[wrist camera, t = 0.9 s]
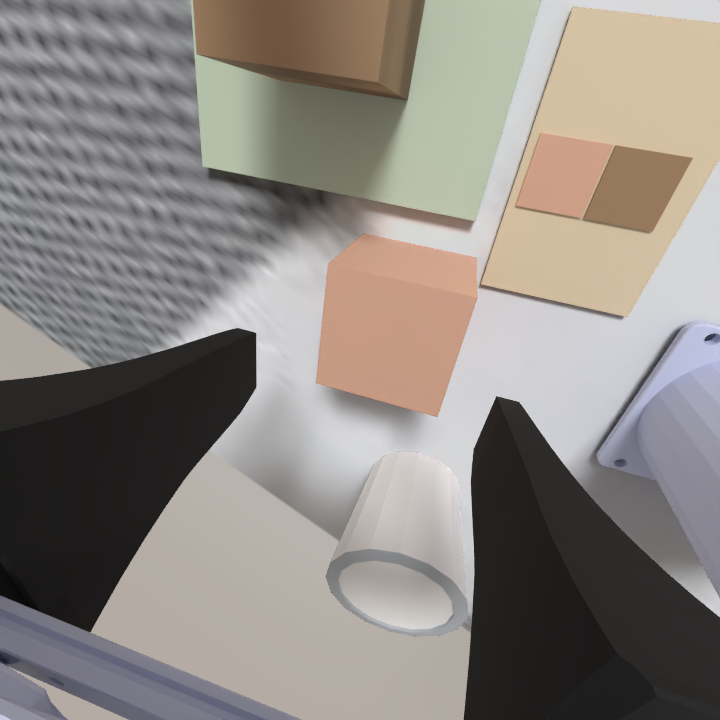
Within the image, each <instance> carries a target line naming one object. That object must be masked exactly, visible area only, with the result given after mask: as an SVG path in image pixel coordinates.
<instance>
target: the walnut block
mask: <svg viewBox="0 0 720 720" xmlns="http://www.w3.org/2000/svg"><path fill="white" fill-rule="evenodd" d="M424 5H425V0H193V9H194V24H195V38H196V53H197V55H200V56H204V57H207V58H210V59H213V60H216V61H219V62H223V63H226V64H229V65H232V66H235V67H238V68H242V69H245V70H248V71H251V72H254V73H258V74H261V75H264V76H267V77H270V78H273V79H277V80H281V81H287V82H293V83H300V84H306V85H312V86H319V87H325V88H331V89H337V90H344V91H350V92H356V93H362V94H369V95H375V96H381V97H387V98H394V99H400V100H406V101H408V96H409V91H410V85H411V79H412V73H413V68H414V62H415V56H416V51H417V45H418V39H419V33H420V28H421V22H422V16H423V11H424Z"/></svg>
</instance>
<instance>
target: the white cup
mask: <svg viewBox="0 0 720 720" xmlns="http://www.w3.org/2000/svg"><path fill="white" fill-rule="evenodd" d="M326 579H327V582H328V585H329V588H330V590H331V593H332V594H333V595H334V596H335V597H336V598H337V600H338V601H339V602H340V603H341V604H342V605H343V606H344V607H345V608H346V609H347V610H349V611H350V612H352V613H353V614H355V615H356V616H358V617H360V618H361V619H363V620H364V621H366V622H368V623H370V624H373V625H375V626H378V627H380V628H383V629H385V630H388V631H391V632H395V633H400V634H405V635H410V636H440V635H443V634H446V633H448V632H452V631H454V630H457V629H458V628H459V627H460V626H461V625H462V624H463V622H464V621H465V620H466V619H467V618H468V606H467V592H466V578H465V565H464V551H463V538H462V524H461V511H460V497H459V484H458V481H457V479H456V478H455V476H454V475H453V473H452V471H451V470H450V469H449V468H448V467H446V466H445V465H444V464H442V463H441V462H440V461H438V460H437V459H435V458H432V457H430V456H427V455H424V454H421V453H418V452H401V451H400V452H396V453H392V454H389V455H385V456H383V457H382V458H381V459H380V460H379V461H377V462H376V463H375V464H374V465H373V468H372V470H371V472H370V474H369V477H368V479H367V481H366V483H365V486H364V488H363V490H362V492H361V495H360V497H359V499H358V501H357V504H356V506H355V508H354V510H353V513H352V515H351V517H350V519H349V521H348V524H347V526H346V528H345V530H344V533H343V535H342V537H341V539H340V542H339V544H338V546H337V548H336V551H335V553H334V555H333V558H332V560H331V562H330V565H329V568H328V571H327V574H326Z"/></svg>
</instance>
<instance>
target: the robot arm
mask: <svg viewBox="0 0 720 720" xmlns="http://www.w3.org/2000/svg"><path fill="white" fill-rule="evenodd" d="M712 333H716V334H715V337H714V338H713V339H711V340H708V341H704V339H705V337H707V336H708V335H710V334H712ZM255 389H256V333H254V332H251V331H247V330H243V329H239V328H236V329H231V330H228V331H224V332H221V333H217V334H214V335H211V336H208V337H205V338H202V339H199V340H196V341H193V342H190V343H186V344H183V345H180V346H177V347H174V348H171V349H167V350H164V351H160V352H157V353H153V354H150V355H146V356H143V357H139V358H136V359H132V360H128V361H124V362H120V363H116V364H111V365H106V366H101V367H96V368H92V369H86V370H80V371H74V372H67V373H61V374H54V375H47V376H41V377H33V378H24V379H15V380H5V381H0V720H68V719H67V718H65V717H64V716H63V715H62V714H61V713H60V712H59V710H58V709H57V708H56V707H55V706H54V705H53V704H52V703H51V701H50V699H49V697H48V695H47V692H46V690H45V689H44V688H42V687H41V686H39V685H37V684H36V683H34V682H32V681H31V680H29V679H27V678H26V677H24V676H22V675H21V674H19V673H17V672H16V671H14V670H12V669H11V668H14V669H16V670H18V671H20V672H22V673H25V674H27V675H29V676H32V677H34V678H36V679H38V680H40V681H43V682H45V683H47V684H49V685H52V686H54V687H56V688H59V689H61V690H63V691H65V692H68V693H70V694H72V695H74V696H77V697H79V698H81V699H84V700H86V701H88V702H90V703H93V704H95V705H97V706H100V707H101V708H104V709H106V710H108V711H111V712H113V713H115V714H118V715H120V716H122V717H124V718H127V719H129V720H301V719H299V718H296V717H294V716H291V715H289V714H287V713H284V712H282V711H279V710H277V709H274V708H272V707H270V706H267V705H264V704H262V703H260V702H257V701H255V700H253V699H250V698H248V697H245V696H243V695H240V694H238V693H235V692H233V691H231V690H228V689H226V688H223V687H221V686H218V685H216V684H214V683H211V682H209V681H206V680H204V679H201V678H199V677H197V676H194V675H192V674H189V673H187V672H184V671H182V670H180V669H177V668H175V667H172V666H170V665H168V664H165V663H162V662H160V661H158V660H155V659H153V658H150V657H148V656H146V655H143V654H141V653H138V652H136V651H133V650H131V649H128V648H126V647H124V646H121V645H119V644H117V643H114V642H112V641H109V640H107V639H104V638H102V637H100V636H97V635H95V634H92V633H90V632H91V630H92V628H93V626H94V624H95V623H96V621H97V619H98V617H99V616H100V614H101V612H102V610H103V608H104V607H105V605H106V603H107V601H108V600H109V598H110V596H111V594H112V593H113V591H114V589H115V587H116V585H117V584H118V582H119V580H120V578H121V577H122V575H123V574H124V572H125V570H126V569H127V567H128V565H129V564H130V562H131V560H132V559H133V557H134V555H135V554H136V552H137V551H138V549H139V547H140V546H141V544H142V542H143V541H144V539H145V537H146V536H147V534H148V533H149V531H150V530H151V528H152V527H153V525H154V524H155V522H156V521H157V519H158V517H159V516H160V514H161V513H162V511H163V510H164V508H165V507H166V505H167V504H168V502H169V501H170V500H171V498H172V497H173V495H174V494H175V492H176V491H177V489H178V488H179V487H180V485H181V484H182V482H183V480H184V479H185V478H186V476H188V474H189V473H190V471H191V470H192V469H193V468H194V467H195V465H196V464H197V463H198V462H199V461H200V460H201V458H202V457H203V456H204V455H205V454H206V453H207V451H208V450H209V449H210V448H211V447H212V446H213V444H214V443H215V442H216V441H217V440H218V439H219V437H220V436H221V435H222V434H223V433H224V432H225V430H226V429H227V428H228V427H229V426H230V425H231V423H232V422H233V421H234V420H235V419H236V417H237V416H238V415H239V414H240V412H241V411H242V409H243V408H244V406H245V405H246V403H247V402H248V400H249V399H250V397H251V395H252V394H253V392H254V390H255ZM596 456H597V460H598V462H599V463H600V464H601V465H602V466H605V467H608V468H612V469H615V470H619V471H622V472H626V473H629V474H633V475H637V476H640V477H644V478H647V479H651V480H654V481H657V483H658V484H659V486H660V488H661V490H662V492H663V494H664V496H665V497H666V499H667V501H668V503H669V505H670V507H671V509H672V510H673V512H674V514H675V516H676V518H677V520H678V522H679V523H680V525H681V527H682V529H683V531H684V533H685V534H686V536H687V538H688V540H689V542H690V544H691V546H692V547H693V549H694V551H695V553H696V555H697V557H698V559H699V560H700V562H701V564H702V566H703V568H704V570H705V572H706V573H707V575H708V577H709V579H710V581H711V583H712V585H713V586H714V588H715V590H716V592H717V594H718V596H719V598H720V325H716V324H712V323H707V322H703V321H695V322H690V323H688V324H687V325H685V326H684V327H683V328H682V329H681V330H680V331H679V333H678V334H677V336H676V337H675V339H674V340H673V342H672V343H671V345H670V346H669V348H668V349H667V351H666V352H665V353H664V355H663V356H662V358H661V359H660V361H659V362H658V364H657V365H656V367H655V368H654V370H653V371H652V373H651V374H650V376H649V377H648V378H647V380H646V381H645V383H644V384H643V386H642V387H641V389H640V390H639V392H638V393H637V395H636V396H635V398H634V399H633V401H632V402H631V403H630V405H629V406H628V408H627V409H626V411H625V412H624V414H623V415H622V417H621V418H620V420H619V421H618V423H617V424H616V426H615V427H614V429H613V430H612V431H611V433H610V434H609V436H608V437H607V439H606V440H605V442H604V443H603V445H602V446H601V448H600V449H599V451H598V452H597V455H596ZM619 459H623V460H622V461H619V462H618V461H616V460H619ZM471 496H472V518H473V538H474V567H475V576H474V595H473V613H472V627H471V642H470V656H469V669H468V680H467V690H466V701H465V712H464V720H720V617H718V616H717V615H716V614H715V613H714V612H712V611H711V610H710V609H709V608H708V607H706V606H705V605H704V604H703V603H701V602H700V601H699V600H698V599H697V598H695V597H694V596H693V595H692V594H691V593H689V592H688V591H687V590H686V589H685V588H684V587H682V586H681V585H680V584H679V583H678V582H677V581H676V580H674V579H673V578H672V577H671V576H670V575H669V574H668V573H666V572H665V571H664V570H663V569H662V568H661V567H660V566H659V565H658V564H657V563H656V562H655V561H653V560H652V559H651V558H650V557H649V556H648V555H647V554H646V553H645V552H644V551H643V550H642V549H641V548H639V547H638V546H637V545H636V544H635V543H634V542H633V541H632V540H631V539H630V538H629V537H628V536H627V535H626V534H625V533H624V532H623V531H622V530H621V529H620V528H619V527H618V526H617V525H616V524H615V523H614V522H613V521H612V520H611V518H610V517H609V516H608V515H607V514H606V513H605V512H604V511H603V510H602V509H601V508H600V507H599V506H598V505H597V504H596V502H595V501H594V500H593V499H592V498H591V497H590V496H589V495H588V493H587V492H586V491H585V490H584V489H583V487H582V486H581V485H580V484H579V483H578V481H577V480H576V479H575V478H574V477H573V475H572V474H571V473H570V472H569V470H568V469H567V468H566V467H565V465H564V464H563V463H562V461H561V460H560V459H559V457H558V456H557V455H556V453H555V452H554V451H553V449H552V448H551V447H550V445H549V444H548V442H547V441H546V440H545V438H544V437H543V435H542V434H541V433H540V431H539V430H538V428H537V427H536V425H535V424H534V422H533V421H532V420H531V418H530V417H529V415H528V414H527V412H526V411H525V409H524V408H523V407H522V405H521V404H520V403H519V402H517V401H513V400H509V399H505V398H501V397H498V396H496V399H495V401H494V403H493V406H492V408H491V410H490V413H489V415H488V417H487V420H486V422H485V424H484V427H483V429H482V431H481V434H480V436H479V438H478V441H477V443H476V445H475V448H474V452H473V462H472V474H471ZM8 666H9V667H11V668H9V667H8Z"/></svg>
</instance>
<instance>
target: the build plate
mask: <svg viewBox="0 0 720 720" xmlns="http://www.w3.org/2000/svg"><path fill="white" fill-rule="evenodd" d="M540 2H541V0H425V5H424V11H423V16H422V22H421V28H420V33H419V39H418V45H417V51H416V56H415V62H414V68H413V73H412V79H411V85H410V91H409V96H408V101H406V100H400V99H394V98H387V97H381V96H375V95H369V94H362V93H356V92H350V91H344V90H337V89H331V88H325V87H319V86H312V85H306V84H300V83H293V82H287V81H281V80H277V79H273V78H270V77H267V76H264V75H261V74H258V73H254V72H251V71H248V70H245V69H242V68H238V67H235V66H232V65H229V64H226V63H223V62H219V61H216V60H213V59H210V58H207V57H204V56H200V55H197V53H196V38H195V24H194V9H193V0H191V11H192V25H193V39H194V53H195V67H196V80H197V94H198V108H199V122H200V136H201V150H202V164H203V167H208V168H213V169H218V170H223V171H228V172H233V173H238V174H243V175H248V176H253V177H258V178H263V179H268V180H273V181H278V182H283V183H288V184H293V185H298V186H303V187H308V188H313V189H318V190H323V191H328V192H333V193H338V194H343V195H348V196H353V197H358V198H363V199H368V200H372V201H377V202H382V203H387V204H392V205H397V206H402V207H407V208H412V209H417V210H422V211H427V212H432V213H437V214H442V215H447V216H452V217H457V218H462V219H467V220H472V221H476V218H477V215H478V211H479V208H480V205H481V201H482V198H483V194H484V191H485V188H486V184H487V181H488V178H489V174H490V171H491V167H492V164H493V161H494V157H495V154H496V151H497V147H498V144H499V141H500V137H501V134H502V130H503V127H504V124H505V120H506V117H507V114H508V110H509V107H510V104H511V100H512V97H513V93H514V90H515V87H516V83H517V80H518V77H519V73H520V70H521V66H522V63H523V60H524V56H525V53H526V50H527V46H528V43H529V40H530V36H531V33H532V29H533V26H534V23H535V19H536V16H537V13H538V9H539V6H540Z"/></svg>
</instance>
